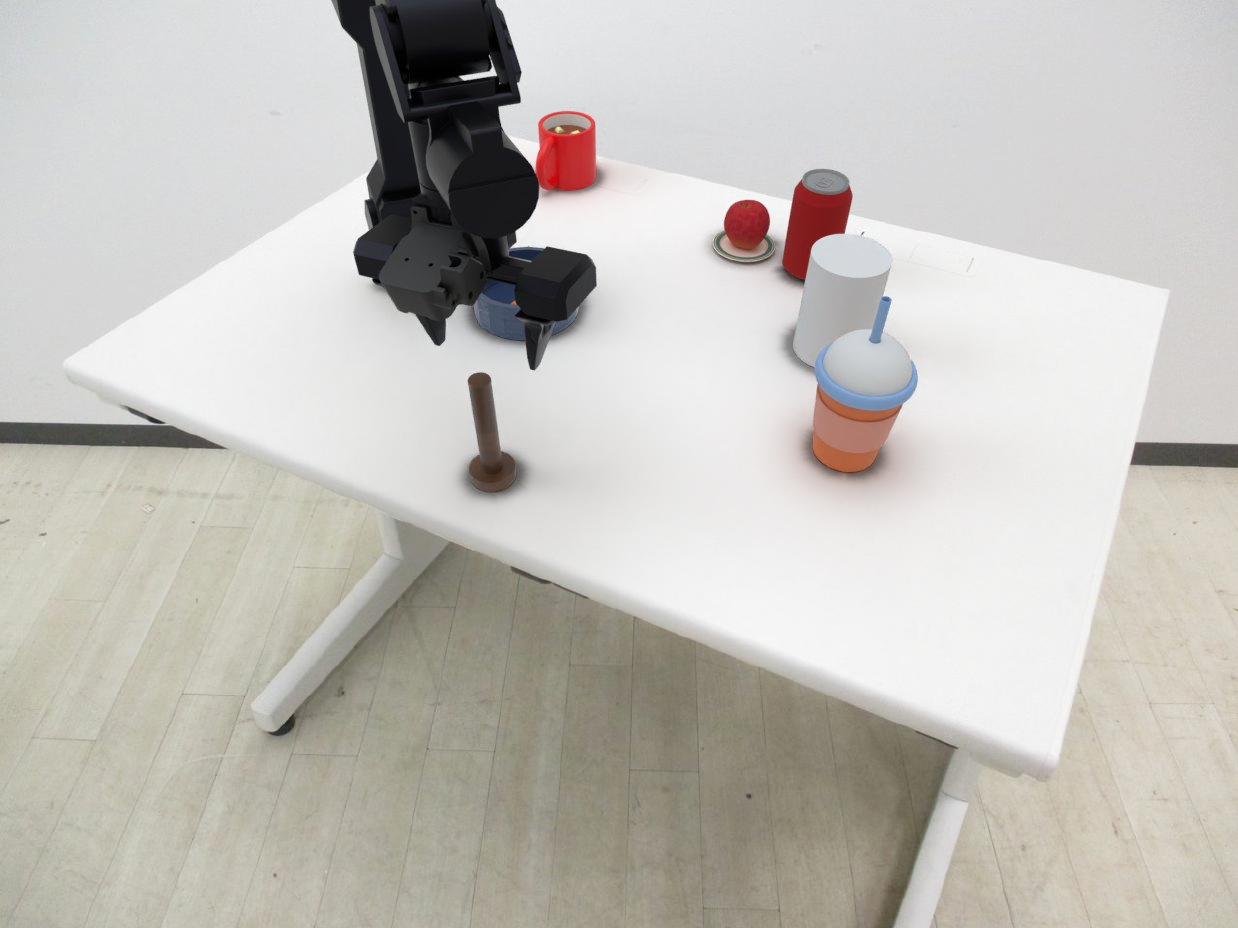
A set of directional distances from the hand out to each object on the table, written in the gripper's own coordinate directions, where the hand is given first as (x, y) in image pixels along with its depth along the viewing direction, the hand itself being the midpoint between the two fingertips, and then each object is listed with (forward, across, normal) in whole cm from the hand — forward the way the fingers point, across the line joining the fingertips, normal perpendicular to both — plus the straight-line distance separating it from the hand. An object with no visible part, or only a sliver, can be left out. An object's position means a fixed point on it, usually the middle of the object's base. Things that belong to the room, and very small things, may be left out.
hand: (486, 355), depth 71 cm
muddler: (+14, -1, 0) cm, 14 cm away
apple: (+13, +8, +48) cm, 50 cm away
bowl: (+13, -11, +25) cm, 30 cm away
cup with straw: (+15, +29, +17) cm, 37 cm away
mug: (+11, -21, +53) cm, 58 cm away
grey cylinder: (+14, +23, +32) cm, 42 cm away
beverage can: (+13, +17, +46) cm, 51 cm away
